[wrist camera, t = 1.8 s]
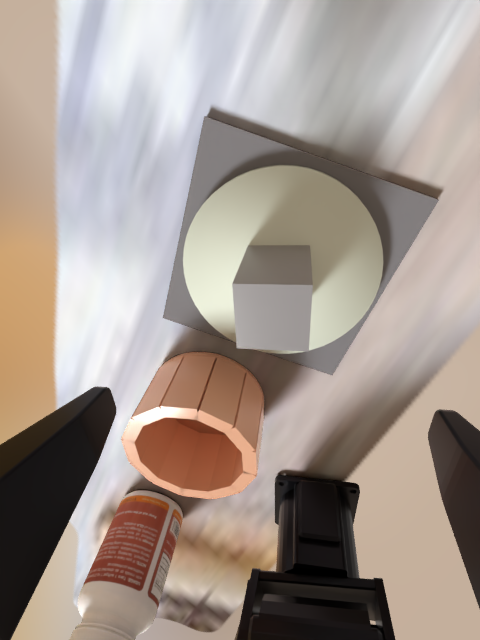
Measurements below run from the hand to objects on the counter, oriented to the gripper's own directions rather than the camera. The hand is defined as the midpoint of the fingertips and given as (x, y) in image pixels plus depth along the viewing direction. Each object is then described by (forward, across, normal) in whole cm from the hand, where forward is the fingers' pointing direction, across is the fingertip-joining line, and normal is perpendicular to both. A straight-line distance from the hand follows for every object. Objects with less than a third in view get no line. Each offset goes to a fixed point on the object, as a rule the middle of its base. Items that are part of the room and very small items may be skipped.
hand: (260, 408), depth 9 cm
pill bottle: (+11, +12, +25) cm, 30 cm away
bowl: (+10, +5, +10) cm, 15 cm away
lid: (+10, 0, 0) cm, 10 cm away
